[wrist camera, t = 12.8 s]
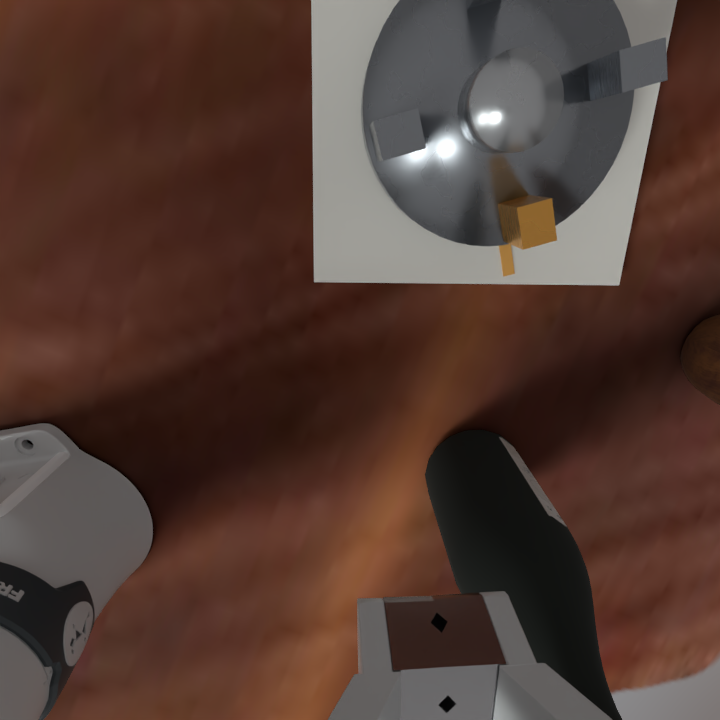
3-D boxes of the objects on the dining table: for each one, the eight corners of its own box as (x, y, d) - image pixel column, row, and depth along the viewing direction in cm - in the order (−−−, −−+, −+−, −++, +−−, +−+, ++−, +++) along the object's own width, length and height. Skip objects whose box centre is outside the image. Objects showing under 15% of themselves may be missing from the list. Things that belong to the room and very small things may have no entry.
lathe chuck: (514, 282, 36) (548, 304, 31) (314, 161, 33) (312, 160, 27) (664, 61, 32) (736, 38, 26) (453, -108, 28) (483, -176, 23)
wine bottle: (520, 422, 42) (899, 926, 14) (512, 502, 45) (814, 1055, 17) (423, 426, 42) (617, 952, 14) (421, 507, 45) (578, 1080, 17)
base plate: (314, 277, 37) (313, 282, 35) (311, -104, 29) (310, -118, 28) (608, 281, 38) (619, 285, 37) (679, -83, 31) (697, -96, 29)
